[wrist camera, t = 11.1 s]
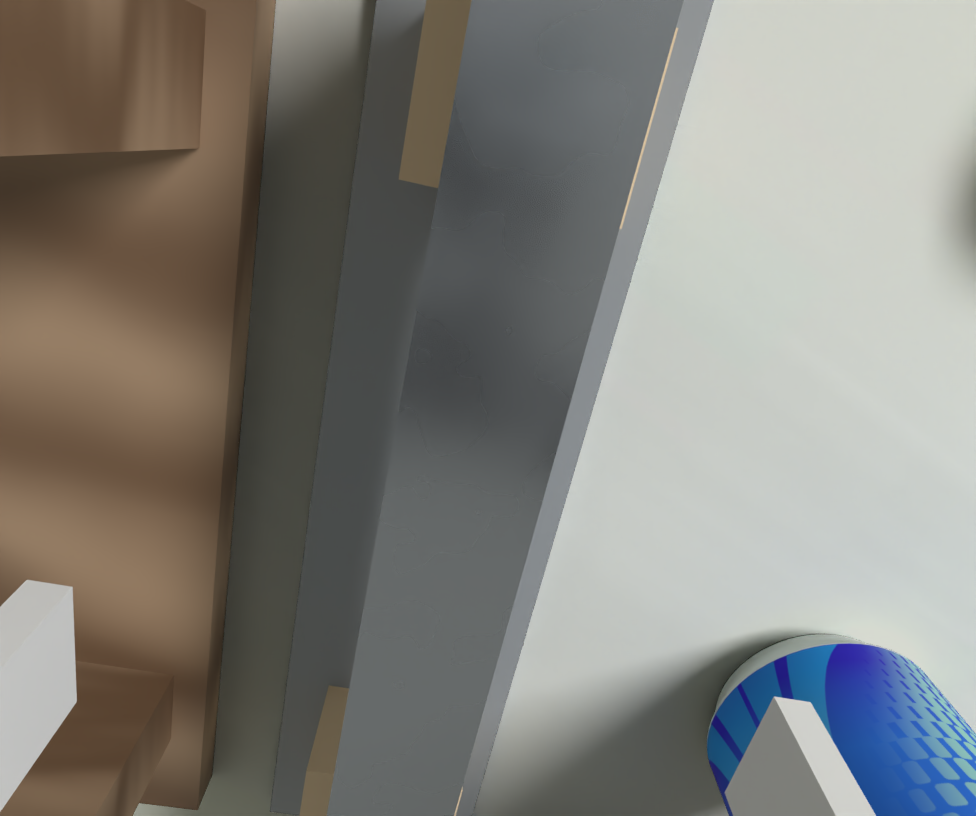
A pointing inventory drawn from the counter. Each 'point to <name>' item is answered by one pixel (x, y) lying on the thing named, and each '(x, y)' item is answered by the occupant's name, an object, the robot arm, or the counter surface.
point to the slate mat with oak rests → (382, 365)
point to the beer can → (856, 722)
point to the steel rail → (491, 374)
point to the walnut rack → (127, 367)
